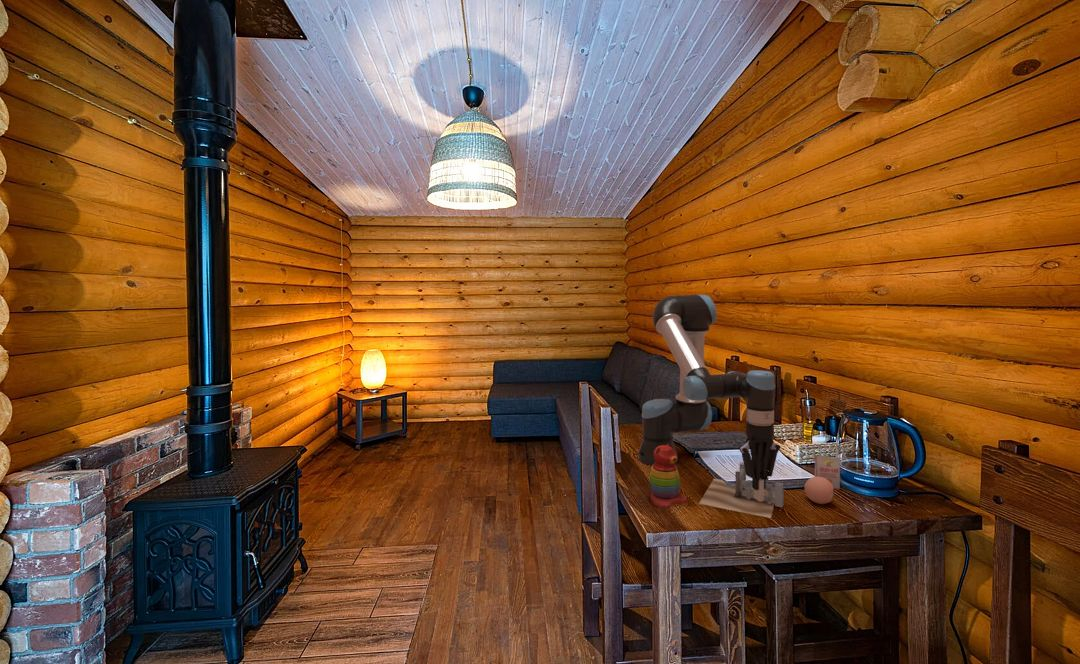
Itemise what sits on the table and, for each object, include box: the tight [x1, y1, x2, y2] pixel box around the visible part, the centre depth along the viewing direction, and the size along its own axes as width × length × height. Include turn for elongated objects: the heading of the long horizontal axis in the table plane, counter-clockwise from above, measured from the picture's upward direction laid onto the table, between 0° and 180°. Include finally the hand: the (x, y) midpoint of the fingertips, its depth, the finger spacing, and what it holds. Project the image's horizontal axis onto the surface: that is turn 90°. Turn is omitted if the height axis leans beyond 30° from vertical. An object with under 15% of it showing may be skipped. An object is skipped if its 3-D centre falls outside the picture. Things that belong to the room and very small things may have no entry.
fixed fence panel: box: [734, 461, 747, 497], centre depth 151 cm, size 12×2×8 cm, turn 148°
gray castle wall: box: [742, 479, 784, 509], centre depth 142 cm, size 12×2×7 cm, turn 48°
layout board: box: [698, 478, 775, 519], centre depth 147 cm, size 22×20×1 cm
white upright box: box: [814, 455, 841, 491], centre depth 153 cm, size 4×7×10 cm, turn 63°
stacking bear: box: [649, 444, 688, 509], centre depth 147 cm, size 11×10×18 cm
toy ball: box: [804, 476, 835, 505], centre depth 142 cm, size 8×8×8 cm
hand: (758, 499), depth 140 cm, fingers closed
